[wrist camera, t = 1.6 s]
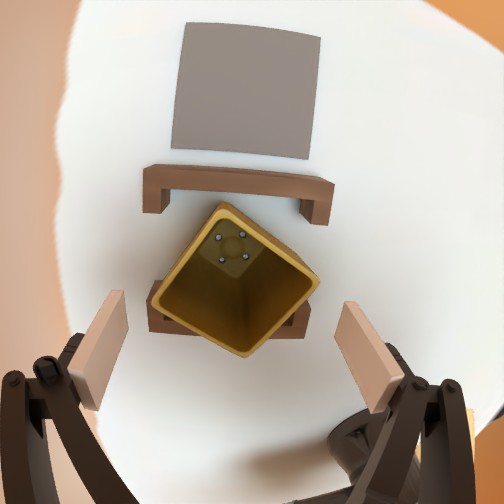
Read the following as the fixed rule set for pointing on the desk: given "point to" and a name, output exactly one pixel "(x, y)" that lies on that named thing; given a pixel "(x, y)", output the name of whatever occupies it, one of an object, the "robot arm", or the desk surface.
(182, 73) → the slate mat
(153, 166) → the pair of brown brackets
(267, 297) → the flower pot
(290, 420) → the desk surface
